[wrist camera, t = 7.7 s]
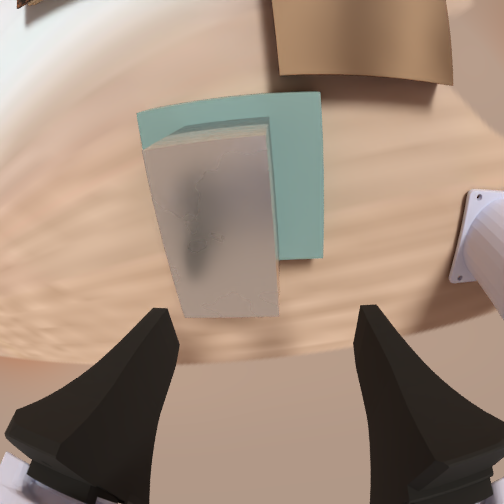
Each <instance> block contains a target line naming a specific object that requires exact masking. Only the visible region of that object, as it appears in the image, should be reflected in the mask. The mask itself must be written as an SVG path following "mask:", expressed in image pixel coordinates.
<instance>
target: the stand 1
mask: <svg viewBox="0 0 504 504" xmlns="http://www.w3.org/2000/svg"><path fill="white" fill-rule="evenodd" d="M136 114H137V120H138V125H139V131H140V137H141V142H142V147H143V150H144V149H146V148H147V147H149V146H151V145H152V144H154V143H156V142H157V141H159V140H161V139H163V138H164V137H166V136H168V135H170V134H171V133H173V132H175V131H177V130H179V129H180V128H182V127H184V126H187V125H194V124H201V123H208V122H216V121H225V120H234V119H244V118H255V117H268V116H269V120H270V132H271V143H272V155H273V167H274V180H275V193H276V206H277V220H278V235H279V260H291V259H314V258H323V239H324V168H323V134H322V112H321V95H320V92H317V91H298V92H276V93H261V94H249V95H239V96H230V97H221V98H213V99H206V100H199V101H193V102H186V103H180V104H175V105H169V106H164V107H159V108H154V109H149V110H146V111H142V112H139V113H136Z"/></svg>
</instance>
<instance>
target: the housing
mask: <svg viewBox="0 0 504 504" xmlns="http://www.w3.org/2000/svg"><path fill="white" fill-rule="evenodd" d="M142 154H143V159H144V163H145V168H146V173H147V178H148V182H149V187H150V191H151V196H152V200H153V204H154V208H155V213H156V217H157V221H158V225H159V229H160V233H161V237H162V240H163V244H164V248H165V252H166V256H167V259H168V263H169V266H170V270H171V274H172V277H173V281H174V284H175V287H176V291H177V294H178V298H179V301H180V304H181V307H182V311H183V314H184V317H185V318H236V317H276V316H279V235H278V220H277V206H276V193H275V180H274V167H273V155H272V143H271V132H270V120H269V116H268V117H255V118H244V119H234V120H225V121H216V122H208V123H201V124H194V125H187V126H184V127H182V128H180V129H179V130H177V131H175V132H173V133H171V134H170V135H168V136H166V137H164V138H163V139H161V140H159V141H157V142H156V143H154V144H152V145H151V146H149V147H147V148H146V149H144V150H142Z"/></svg>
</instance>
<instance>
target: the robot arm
mask: <svg viewBox="0 0 504 504" xmlns="http://www.w3.org/2000/svg"><path fill="white" fill-rule="evenodd" d="M478 195H479V198H477V196H478ZM459 276H460V277H459ZM458 277H459V278H458ZM449 281H450V282H451V283H462V282H471V281H477V282H478V283H479V285H480V286H481V287H482V289H483V290H484V292H485V293H486V295H487V296H488V297H489V299H490V300H491V302H492V303H493V305H494V306H495V308H496V309H497V311H498V312H499V314H500V315H501V317H502V318H503V320H504V191H500V190H484V189H471V190H470V191H469V192H468V194H467V199H466V205H465V210H464V215H463V221H462V225H461V230H460V235H459V239H458V243H457V248H456V252H455V256H454V260H453V263H452V267H451V271H450V274H449ZM179 345H180V344H179V341H178V338H177V336H176V333H175V330H174V327H173V324H172V321H171V318H170V315H169V312H168V309H167V308H153V309H152V310H151V311H150V312H149V313H148V314H147V315H146V316H145V317H144V318H143V319H142V320H141V321H140V322H139V323H138V324H137V325H136V326H135V327H134V328H133V329H132V330H131V331H130V332H129V333H128V334H127V335H126V336H125V337H124V338H123V339H122V340H121V341H120V342H119V343H118V344H117V345H116V346H115V347H114V348H113V349H112V350H110V351H109V352H108V353H107V354H106V355H105V356H104V357H103V358H102V359H101V360H100V361H98V362H97V363H96V364H95V365H94V366H92V367H91V368H90V369H89V370H87V371H86V372H85V373H83V374H82V375H81V376H79V377H78V378H76V379H75V380H73V381H72V382H70V383H69V384H67V385H66V386H64V387H63V388H61V389H59V390H58V391H56V392H54V393H53V394H51V395H49V396H47V397H45V398H43V399H41V400H39V401H37V402H34V403H32V404H30V405H27V406H25V407H23V408H20V409H17V410H16V412H15V414H14V416H13V418H12V420H11V422H10V424H9V426H8V428H7V430H6V432H5V436H6V438H7V439H8V440H9V441H10V442H11V443H12V444H13V445H14V446H16V447H17V448H18V449H19V450H20V451H22V452H23V453H24V454H25V455H27V456H28V457H29V458H30V459H32V461H31V464H28V463H26V462H25V461H23V460H21V459H20V458H18V457H16V456H14V455H13V454H11V453H9V452H6V453H5V456H4V458H3V460H2V462H1V465H0V504H118V503H121V504H149V493H150V492H149V491H150V475H151V465H152V456H153V449H154V442H155V436H156V430H157V425H158V421H159V417H160V413H161V410H162V407H163V404H164V401H165V398H166V395H167V392H168V388H169V386H170V382H171V379H172V376H173V373H174V370H175V367H176V362H177V357H178V351H179ZM353 346H354V355H355V363H356V369H357V373H358V378H359V383H360V387H361V391H362V396H363V400H364V405H365V409H366V414H367V420H368V428H369V440H370V460H371V491H370V504H504V477H502V478H500V479H498V480H496V481H495V482H493V483H491V481H490V477H491V476H493V469H492V466H493V465H494V464H496V463H497V462H498V461H499V460H501V459H502V458H503V457H504V422H503V421H501V420H500V419H498V418H496V417H494V416H492V415H491V414H489V413H486V412H485V411H483V410H482V409H480V408H479V407H477V406H476V405H474V404H472V403H471V402H470V401H468V400H467V399H465V398H464V397H463V396H461V395H460V394H459V393H458V392H456V391H455V390H454V389H452V388H451V387H450V386H449V385H448V384H446V383H445V382H444V381H443V380H442V379H440V377H438V376H437V375H436V374H435V373H434V372H433V371H432V370H431V369H430V368H429V367H428V366H427V365H426V364H425V363H424V362H423V361H422V360H421V359H420V357H418V355H417V354H416V353H415V352H414V351H413V350H412V349H411V347H410V346H409V345H408V344H407V343H406V342H405V340H404V339H403V338H402V337H401V335H400V334H399V333H398V332H397V330H396V329H395V328H394V327H393V325H392V324H391V323H390V321H389V320H388V319H387V318H386V316H385V315H384V314H383V312H382V311H381V310H380V308H379V307H378V306H377V305H360V311H359V316H358V322H357V327H356V332H355V337H354V342H353Z"/></svg>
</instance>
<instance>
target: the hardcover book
mask: <svg viewBox="0 0 504 504" xmlns="http://www.w3.org/2000/svg"><path fill="white" fill-rule="evenodd" d="M40 1H42V0H17V9H19V8H21V7H22V6H24V5H26V4H27V3H28V5H29V6H30V5H35V4H37V3H39V2H40Z"/></svg>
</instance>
